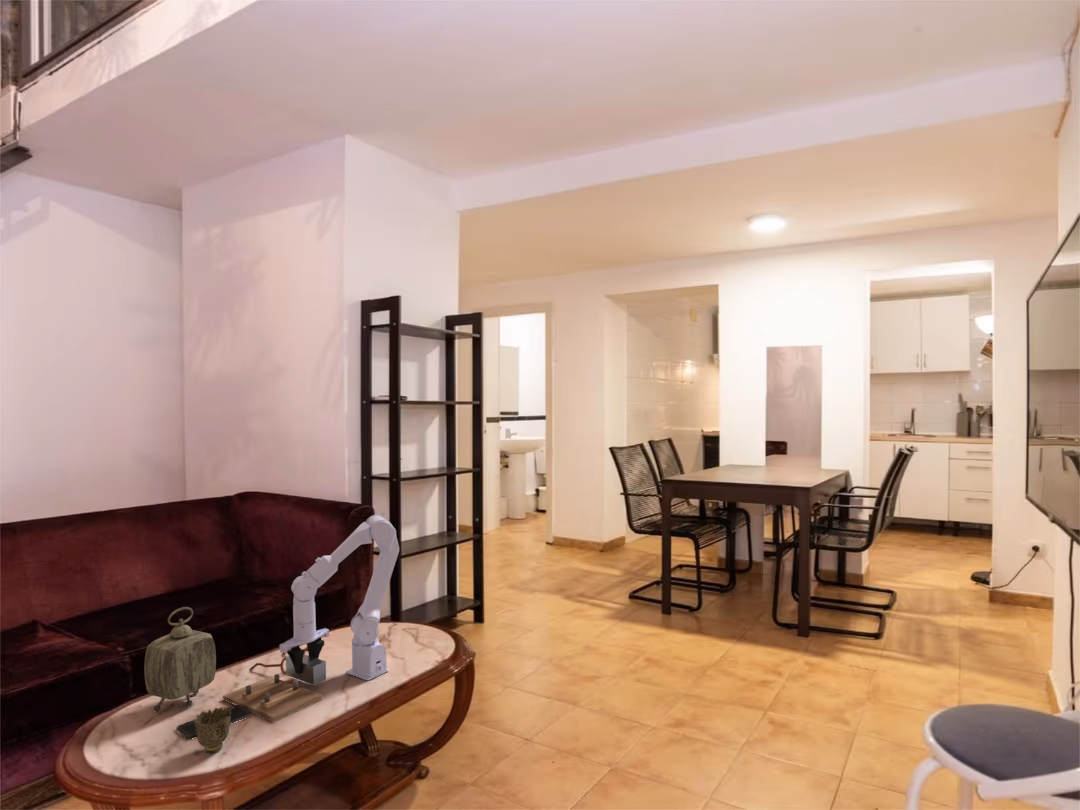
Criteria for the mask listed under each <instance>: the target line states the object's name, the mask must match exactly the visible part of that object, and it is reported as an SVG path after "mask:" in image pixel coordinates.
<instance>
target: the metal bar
mask: <svg viewBox="0 0 1080 810" xmlns="http://www.w3.org/2000/svg"><path fill="white" fill-rule="evenodd" d="M285 657H286V660H285V669H286V670H285V672H286V674H285V676H288V677H291V678H294V679H296V680H299V681H301V682H304V683H307V684H309V685H312V686H315V685H317V684H319V683H322V682H323V681H326V680H327V663H326V662H327V661H325V660H323V659H320V658H318V659H317V658H314V657H311V656H309V654H306V653H305V654H304V655H303V670H302V674H297V673H295V669H294V666H293V663H292V660H291V658H290V657H289V655H288V656H285Z"/></svg>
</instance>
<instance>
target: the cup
mask: <svg viewBox="0 0 1080 810" xmlns="http://www.w3.org/2000/svg"><path fill="white" fill-rule="evenodd" d="M195 718H196V719H197V720H195ZM195 718H194V719H193V720H194V723H195V729H196V735H197V737H196V739H197V741H198V743H199V745H201V746H202V747H204V748H203V749H204V751H205V753H207V754H215V753H217V752H219V751H221V750H222V748H223V746H224V745H223V743H224V742H225V741H226V740H227V738H228V735H229V734H230V733H229V732H230V726H231V725H230V719H231V710H230V709H229V710H228V711H227V708H226V707H224V708H222V707H219V708H217V707H215V708H214V709H213V711H212V710H211V709H208V711H201V712H200V713H199V714H196V716H195Z"/></svg>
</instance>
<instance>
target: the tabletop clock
mask: <svg viewBox="0 0 1080 810" xmlns="http://www.w3.org/2000/svg"><path fill="white" fill-rule="evenodd" d="M185 610H186V611H190V613H191V614H190V616H189V617H188V618H186V619H184V618H179V619H178V622H174V623H173V622H171V618H172V616H174V615H175V614H177V613H178V612H180V611H181V612H182V611H185ZM193 616H194V611H193V609H192V608H191V607H189V606H182V607H180V608H177V609H175V610H174V611H172V612H171V613H170V614H169V616H168V618H167V623H168V625H170V626H172V627H173V628H172V629H171V631H170V633H168V634H166V635H164V636H161V637H159V638H157V639H155V640H153V641H151V643H150V644H148V645H147V648H146V651H145V656H144V669H143V671H144V673H143V674H144V683H145V687H146V691H147V693H148V694H149V695H150V696H153V697H154V696H155V697H157V698H158V697H159V698H160V700H159V703H158V704H156V705H154V706H153V711H154V712H156V713H157V712H159V711H160V710H161V709H162V708H161V706H162V704H163V703H164V701H165V700H170V701H171V700H177V699H181V698H183V697H186V702H185V706H186V707H187V706H190V707H191V706H192V705H193V703H194V702H193V700H191V699H190V698H191V697H190V695H191V694H193V695H197V694H199V691H200V690H201V689H202V688H205V687H206V686H208V685H210V684H211V683H212V682H213V681H214V679H215V676H216V671H217V670H216V667H217V654H216V644H215V641H214V639H213V636H212V634H211V633H208V632H204V631H199V630H195V629H194V630H193V629H192V628H191V626H189V625H187V624H186V623H187V622H189V621H190V620H191V619H192V618H193Z"/></svg>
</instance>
